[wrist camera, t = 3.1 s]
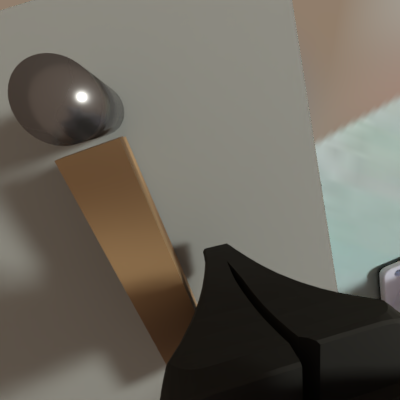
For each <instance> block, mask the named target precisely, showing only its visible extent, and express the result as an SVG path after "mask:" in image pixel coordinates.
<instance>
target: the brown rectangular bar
mask: <svg viewBox="0 0 400 400" xmlns="http://www.w3.org/2000/svg"><path fill="white" fill-rule="evenodd" d="M55 163H56V165H57V167H58V169H59V171H60V172H61V174H62V176H63V178H64V180H65V181H66V183H67V185H68V187H69V189H70V191H71V192H72V194H73V196H74V198H75V200H76V201H77V203H78V205H79V207H80V209H81V211H82V212H83V214H84V216H85V218H86V220H87V221H88V223H89V225H90V227H91V229H92V231H93V232H94V234H95V236H96V238H97V240H98V241H99V243H100V245H101V247H102V249H103V251H104V252H105V254H106V256H107V258H108V260H109V261H110V263H111V265H112V267H113V269H114V271H115V272H116V274H117V276H118V278H119V280H120V282H121V283H122V285H123V287H124V289H125V291H126V292H127V294H128V296H129V298H130V300H131V302H132V303H133V305H134V307H135V309H136V311H137V312H138V314H139V316H140V318H141V320H142V322H143V323H144V325H145V327H146V329H147V331H148V332H149V334H150V336H151V338H152V340H153V342H154V343H155V345H156V347H157V349H158V351H159V352H160V354H161V356H162V358H163V360H164V362H165V363H166V365H167V363H168V361H169V360H170V358H171V357H172V355H173V353H174V352H175V350H176V349H177V347H178V345H179V344H180V342H181V340H182V338H183V336H184V334H185V332H186V330H187V328H188V326H189V324H190V322H191V320H192V317H193V315H194V312H195V309H196V307H197V302H196V300H195V297H194V295H193V293H192V290H191V288H190V286H189V283H188V281H187V279H186V276H185V274H184V272H183V269H182V267H181V265H180V262H179V260H178V258H177V255H176V253H175V251H174V248H173V246H172V244H171V241H170V239H169V237H168V234H167V232H166V230H165V227H164V225H163V223H162V220H161V218H160V216H159V213H158V211H157V209H156V206H155V204H154V202H153V199H152V197H151V195H150V192H149V190H148V187H147V185H146V183H145V180H144V178H143V176H142V173H141V171H140V169H139V166H138V164H137V162H136V159H135V157H134V155H133V152H132V150H131V148H130V145H129V143H128V141H127V138H126V136H125V137H123V136H121V137H119V138H116V139H113V140H110V141H107V142H105V143H102V144H99V145H96V146H93V147H90V148H88V149H85V150H82V151H79V152H76V153H73V154H71V155H68V156H65V157H62V158H60V159H58V160H55Z"/></svg>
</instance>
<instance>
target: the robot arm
mask: <svg viewBox="0 0 400 400" xmlns="http://www.w3.org/2000/svg"><path fill="white" fill-rule="evenodd" d="M203 254H204V260H205V272H204V279H203V285H202V290H201V294H200V297H199V301H198V304H197V307H196V309H195V312H194V315H193V317H192V320H191V322H190V324H189V326H188V328H187V330H186V332H185V334H184V336H183V338H182V340H181V342H180V344H179V345H178V347H177V349H176V350H175V352H174V353H173V355H172V357H171V358H170V360H169V361H168V363H167V365H166V369H165V373H164V378H163V383H162V389H161V395H160V400H400V261H398V262H396V263H393V264H391V265H388V266H386V267H384V268H383V269H382V270H381V271H380V274H379V278H380V291H381V300H378V299H372V298H366V297H359V296H353V295H348V294H343V293H339V292H334V291H330V290H326V289H322V288H318V287H315V286H312V285H309V284H305V283H302V282H299V281H296V280H294V279H291V278H289V277H286V276H284V275H281V274H279V273H277V272H275V271H272V270H270V269H268V268H266V267H265V266H263V265H261V264H259V263H257V262H255V261H254V260H252V259H250V258H249V257H247V256H245V255H244V254H242V253H241V252H239V251H238V250H236V249H235V248H233V247H232V246H230V245H229V244H227V243H226V244H222V245H218V246H214V247H209V248H205V249H204V251H203Z"/></svg>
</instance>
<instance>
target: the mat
mask: <svg viewBox="0 0 400 400" xmlns="http://www.w3.org/2000/svg"><path fill="white" fill-rule="evenodd" d="M39 53H54V54H59V55H63V56H66V57H68V58H70V59H72V60H74V61H75V62H77V63H78V64H80V65H81V66H82V67H84V68H85V69H86V70H88V71H89V72H90V73H92V74H93V75H94V76H96V77H97V78H98V79H99V80H101V81H102V82H103V83H105V84H106V85H107V86H109V87H110V88H111V89H113V90H114V91H115V92H116V93H117V94H118V96H119V97H120V99H121V101H122V103H123V106H124V119H123V122H122V124H121V126H120V127H119V128H118V129H117V130H116V131H114V132H113V133H111V134H108V135H105V136H101V137H98V138H95V139H92V140H88V141H85V142H82V143H79V144H75V145H70V146H56V145H51V144H48V143H45V142H43V141H41V140H38V139H37V138H35V137H34V136H32V135H31V134H29V133H28V132H27V131H26V130H25V129H24V128H23V127H22V126H21V125H20V124H19V122H18V121H17V119H16V118H15V116H14V114H13V112H12V110H11V107H10V104H9V100H8V83H9V79H10V76H11V74H12V72H13V70H14V69H15V68H16V66H17V65H18V64H19V63H20V62H21V61H23V60H24V59H26V58H27V57H30V56H32V55H35V54H39ZM121 136H123V137H125V136H126V138H127V141H128V143H129V145H130V148H131V150H132V152H133V155H134V157H135V159H136V162H137V164H138V166H139V169H140V171H141V173H142V176H143V178H144V180H145V183H146V185H147V187H148V190H149V192H150V195H151V197H152V199H153V202H154V204H155V206H156V209H157V211H158V213H159V216H160V218H161V220H162V223H163V225H164V227H165V230H166V232H167V234H168V237H169V239H170V241H171V244H172V246H173V248H174V251H175V253H176V255H177V258H178V260H179V262H180V265H181V267H182V269H183V272H184V274H185V276H186V279H187V281H188V283H189V286H190V288H191V290H192V293H193V295H194V297H195V300H196V302H197V304H198V301H199V297H200V294H201V290H202V285H203V279H204V272H205V260H204V254H203V251H204V249H205V248H209V247H214V246H218V245H222V244H226V243H227V244H229V245H230V246H232V247H233V248H235V249H236V250H238V251H239V252H241V253H242V254H244V255H245V256H247V257H249V258H250V259H252V260H254V261H255V262H257V263H259V264H261V265H263V266H265V267H266V268H268V269H270V270H272V271H275V272H277V273H279V274H281V275H284V276H286V277H289V278H291V279H294V280H296V281H299V282H302V283H305V284H309V285H312V286H315V287H318V288H322V289H326V290H330V291H334V292H338V290H337V283H336V277H335V271H334V264H333V258H332V252H331V245H330V239H329V233H328V226H327V220H326V213H325V207H324V201H323V194H322V188H321V182H320V175H319V169H318V163H317V156H316V150H315V144H314V137H313V131H312V125H311V119H310V112H309V106H308V99H307V93H306V86H305V80H304V74H303V68H302V61H301V55H300V49H299V42H298V36H297V29H296V23H295V17H294V10H293V4H292V0H33V1H29V2H26V3H23V4H19V5H16V6H13V7H10V8H7V9H3V10H1V11H0V400H160V395H161V389H162V383H163V378H164V373H165V369H166V363H165V362H164V360H163V358H162V356H161V354H160V352H159V351H158V349H157V347H156V345H155V343H154V342H153V340H152V338H151V336H150V334H149V332H148V331H147V329H146V327H145V325H144V323H143V322H142V320H141V318H140V316H139V314H138V312H137V311H136V309H135V307H134V305H133V303H132V302H131V300H130V298H129V296H128V294H127V292H126V291H125V289H124V287H123V285H122V283H121V282H120V280H119V278H118V276H117V274H116V272H115V271H114V269H113V267H112V265H111V263H110V261H109V260H108V258H107V256H106V254H105V252H104V251H103V249H102V247H101V245H100V243H99V241H98V240H97V238H96V236H95V234H94V232H93V231H92V229H91V227H90V225H89V223H88V221H87V220H86V218H85V216H84V214H83V212H82V211H81V209H80V207H79V205H78V203H77V201H76V200H75V198H74V196H73V194H72V192H71V191H70V189H69V187H68V185H67V183H66V181H65V180H64V178H63V176H62V174H61V172H60V171H59V169H58V167H57V165H56V163H55V160H58V159H60V158H62V157H65V156H68V155H71V154H73V153H76V152H79V151H82V150H85V149H88V148H90V147H93V146H96V145H99V144H102V143H105V142H107V141H110V140H113V139H116V138H119V137H121Z"/></svg>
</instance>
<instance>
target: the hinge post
mask: <svg viewBox="0 0 400 400" xmlns="http://www.w3.org/2000/svg"><path fill="white" fill-rule="evenodd" d="M8 100H9V104H10V107H11V110H12V112H13V114H14V116H15V118H16V119H17V121H18V122H19V124H20V125H21V126H22V127H23V128H24V129H25V130H26V131H27V132H28V133H29V134H31V135H32V136H34V137H35V138H37V139H38V140H41V141H43V142H45V143H48V144H51V145H56V146H70V145H75V144H79V143H82V142H85V141H88V140H92V139H95V138H98V137H101V136H105V135H108V134H111V133H113V132H114V131H116V130H117V129H118V128H119V127H120V126H121V124H122V122H123V119H124V106H123V103H122V101H121V99H120V97H119V96H118V94H117V93H116V92H115V91H114V90H113V89H111V88H110V87H109V86H107V85H106V84H105V83H103V82H102V81H101V80H99V79H98V78H97V77H96V76H94V75H93V74H92V73H90V72H89V71H88V70H86V69H85V68H84V67H82V66H81V65H80V64H78V63H77V62H75V61H74V60H72V59H70V58H68V57H66V56H63V55H59V54H54V53H39V54H35V55H32V56H30V57H27V58H26V59H24V60H23V61H21V62H20V63H19V64H18V65H17V66H16V68H15V69H14V70H13V72H12V74H11V76H10V79H9V83H8Z"/></svg>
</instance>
